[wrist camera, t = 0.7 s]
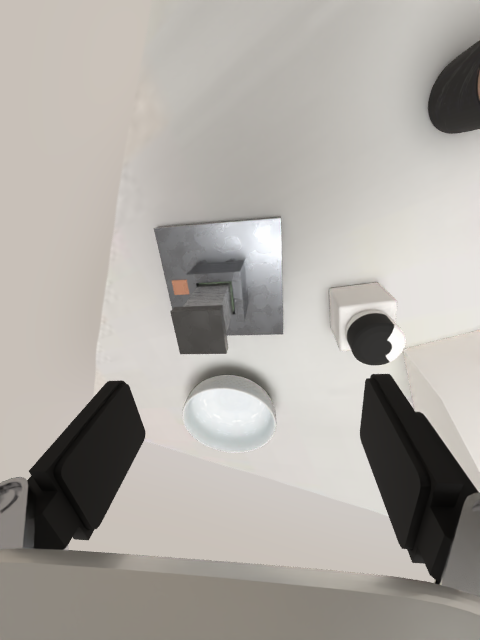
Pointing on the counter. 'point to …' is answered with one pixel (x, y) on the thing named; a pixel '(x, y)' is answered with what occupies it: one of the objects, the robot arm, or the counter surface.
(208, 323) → the column
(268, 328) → the stand base
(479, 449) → the white house-shaped block
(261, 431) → the cereal bowl
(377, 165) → the counter surface
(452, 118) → the travel mug
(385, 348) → the medicine bottle
